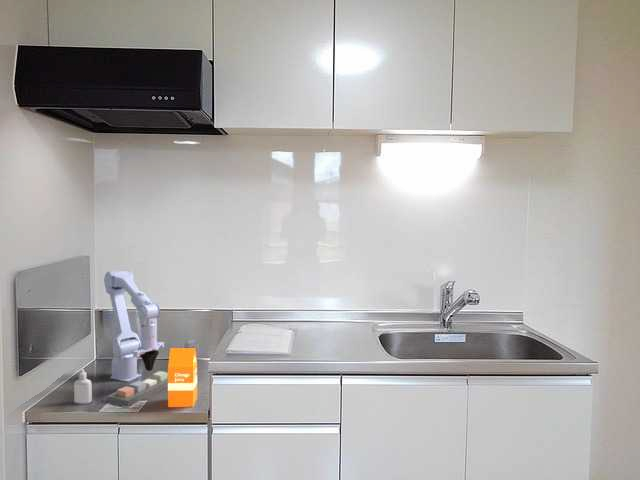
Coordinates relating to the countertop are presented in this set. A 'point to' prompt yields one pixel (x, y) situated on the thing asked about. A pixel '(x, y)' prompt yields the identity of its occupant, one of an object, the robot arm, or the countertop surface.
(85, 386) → the eye dropper bottle
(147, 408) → the countertop surface
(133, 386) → the slate key
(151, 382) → the cream key
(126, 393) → the terracotta key
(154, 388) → the grey slotted tray
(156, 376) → the sage key
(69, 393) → the countertop surface
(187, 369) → the orange juice
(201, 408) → the countertop surface
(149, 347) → the robot arm
